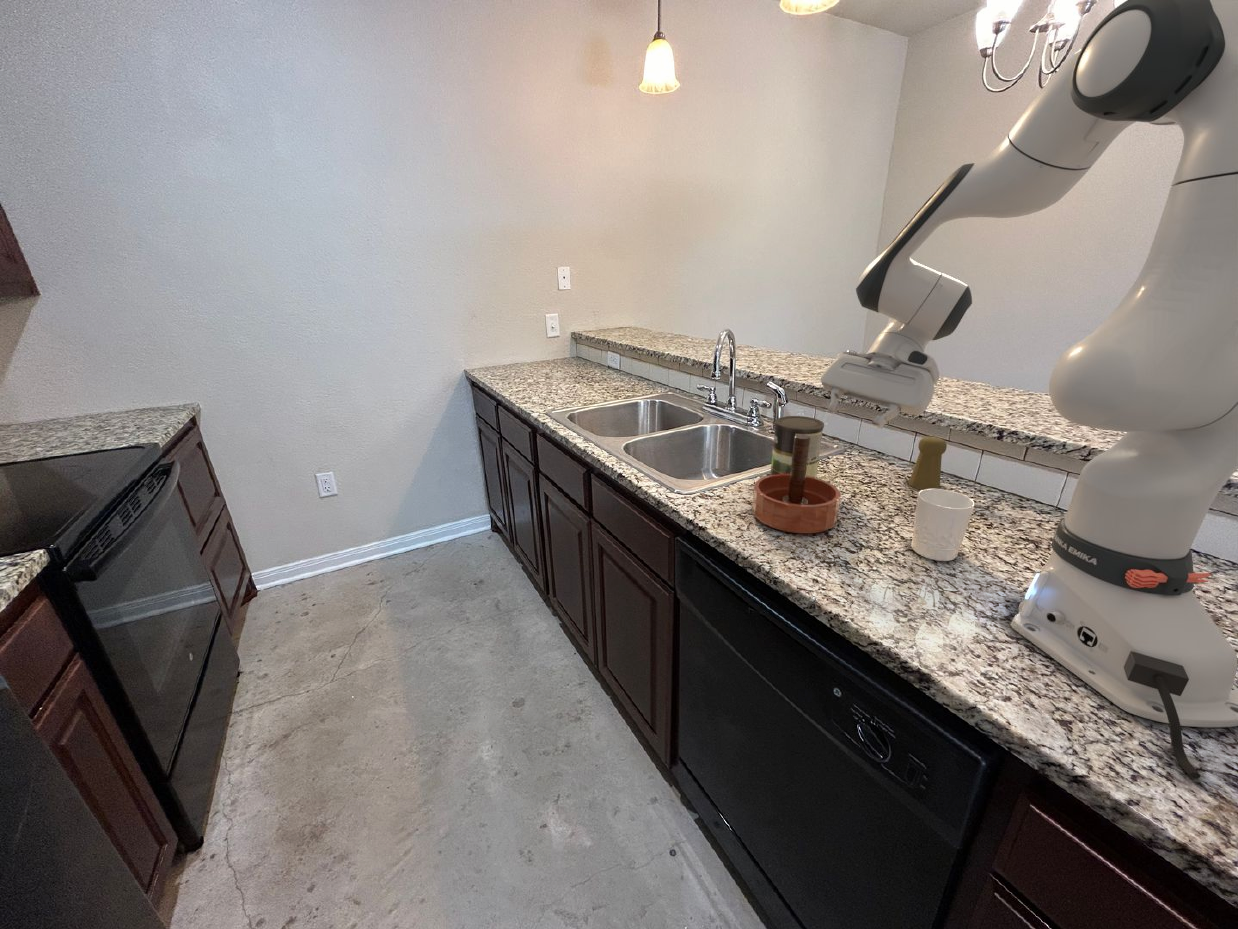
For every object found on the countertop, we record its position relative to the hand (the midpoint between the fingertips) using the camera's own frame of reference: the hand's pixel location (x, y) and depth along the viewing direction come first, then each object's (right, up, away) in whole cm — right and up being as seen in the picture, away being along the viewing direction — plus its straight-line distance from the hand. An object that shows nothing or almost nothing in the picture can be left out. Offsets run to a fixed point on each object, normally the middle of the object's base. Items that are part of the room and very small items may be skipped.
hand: (853, 418), depth 96 cm
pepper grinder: (+23, -14, +15) cm, 30 cm away
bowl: (-11, -19, +2) cm, 22 cm away
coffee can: (-5, -13, +19) cm, 23 cm away
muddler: (-11, -19, +2) cm, 22 cm away
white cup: (+9, -24, -11) cm, 28 cm away
